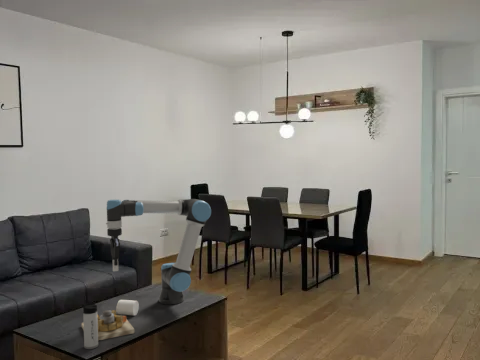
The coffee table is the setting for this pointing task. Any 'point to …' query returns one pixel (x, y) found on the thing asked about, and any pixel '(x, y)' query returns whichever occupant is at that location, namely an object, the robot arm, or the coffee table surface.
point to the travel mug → (90, 326)
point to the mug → (127, 307)
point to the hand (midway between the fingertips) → (115, 270)
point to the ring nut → (112, 326)
